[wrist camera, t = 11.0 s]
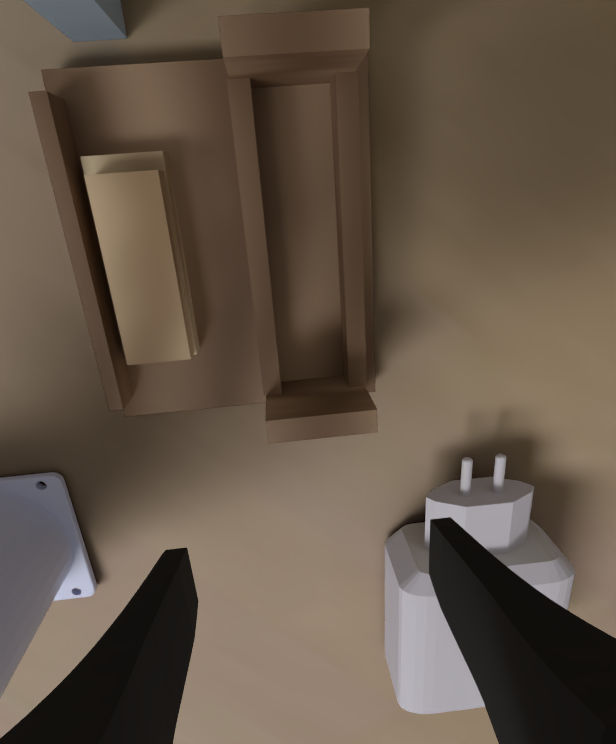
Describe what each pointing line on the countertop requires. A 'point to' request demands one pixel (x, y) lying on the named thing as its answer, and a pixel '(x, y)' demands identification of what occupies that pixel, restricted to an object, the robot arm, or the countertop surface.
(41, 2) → the board
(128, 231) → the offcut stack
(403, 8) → the countertop surface
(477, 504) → the charger
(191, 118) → the tray
